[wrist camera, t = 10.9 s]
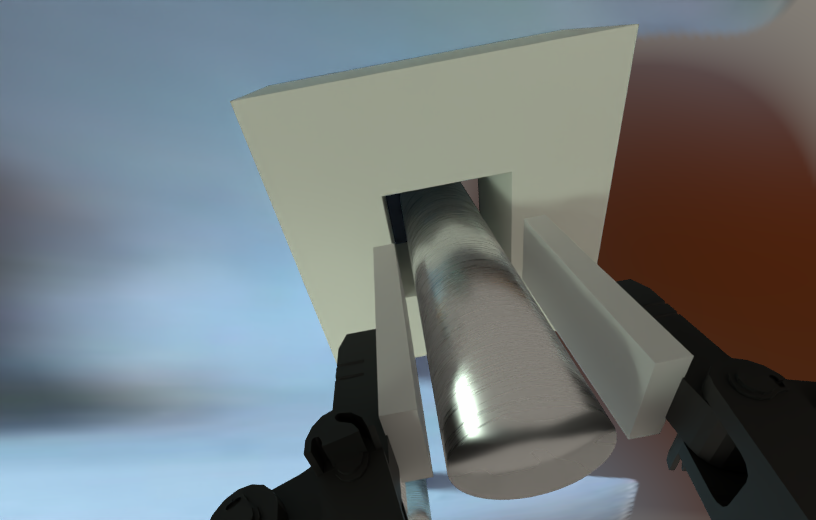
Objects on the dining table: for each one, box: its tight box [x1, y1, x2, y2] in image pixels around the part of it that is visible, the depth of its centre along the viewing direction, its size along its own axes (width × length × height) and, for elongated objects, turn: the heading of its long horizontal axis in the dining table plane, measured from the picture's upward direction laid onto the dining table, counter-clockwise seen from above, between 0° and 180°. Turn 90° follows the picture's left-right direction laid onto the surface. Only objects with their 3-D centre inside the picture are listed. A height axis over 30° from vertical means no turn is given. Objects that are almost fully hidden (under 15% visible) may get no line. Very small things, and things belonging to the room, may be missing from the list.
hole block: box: [230, 24, 639, 363], centre depth 16 cm, size 13×13×5 cm
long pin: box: [400, 182, 617, 500], centre depth 13 cm, size 3×3×14 cm
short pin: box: [405, 478, 432, 520], centre depth 32 cm, size 3×3×6 cm
